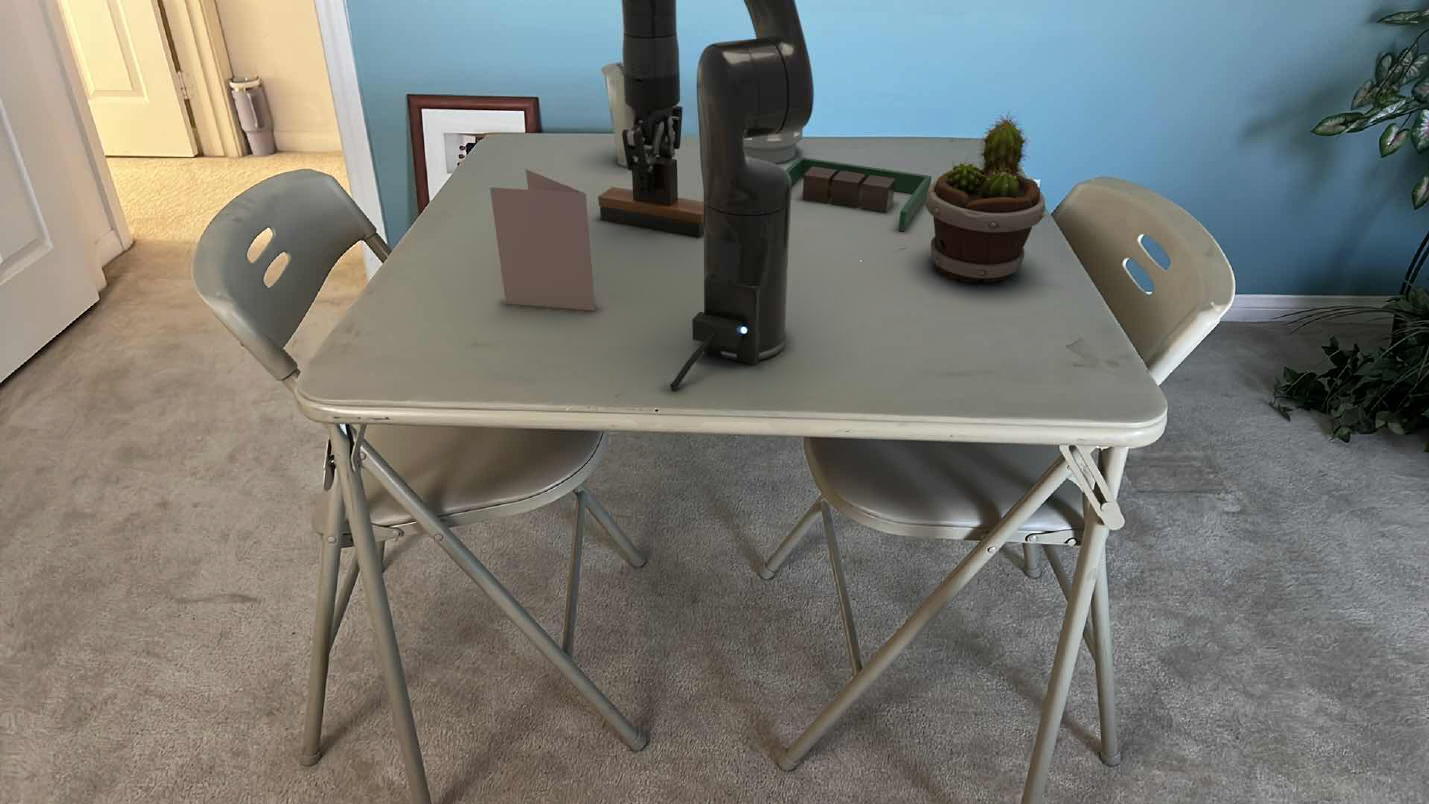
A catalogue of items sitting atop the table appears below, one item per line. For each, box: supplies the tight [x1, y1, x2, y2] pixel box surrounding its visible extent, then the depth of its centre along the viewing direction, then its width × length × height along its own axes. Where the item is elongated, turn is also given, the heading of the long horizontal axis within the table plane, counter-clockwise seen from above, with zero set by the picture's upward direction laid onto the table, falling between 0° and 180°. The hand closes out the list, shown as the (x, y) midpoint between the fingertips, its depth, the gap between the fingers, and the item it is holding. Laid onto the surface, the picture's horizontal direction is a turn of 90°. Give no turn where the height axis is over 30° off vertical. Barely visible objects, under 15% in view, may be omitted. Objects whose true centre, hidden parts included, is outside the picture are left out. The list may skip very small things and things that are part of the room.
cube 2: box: [830, 171, 866, 209], centre depth 143 cm, size 4×4×4 cm
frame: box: [785, 156, 932, 232], centre depth 143 cm, size 16×22×3 cm
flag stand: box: [744, 128, 804, 164], centre depth 155 cm, size 13×13×30 cm
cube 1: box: [860, 175, 896, 213], centre depth 142 cm, size 4×4×4 cm
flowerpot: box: [925, 109, 1046, 284], centre depth 119 cm, size 14×15×20 cm
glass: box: [600, 61, 652, 168], centre depth 152 cm, size 11×11×30 cm
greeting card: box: [489, 168, 596, 312], centre depth 112 cm, size 11×7×15 cm, turn 45°
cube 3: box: [802, 167, 837, 204], centre depth 145 cm, size 4×4×4 cm
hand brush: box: [597, 155, 704, 238], centre depth 135 cm, size 5×17×10 cm, turn 66°
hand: (655, 188), depth 134 cm, fingers open, 5 cm apart
